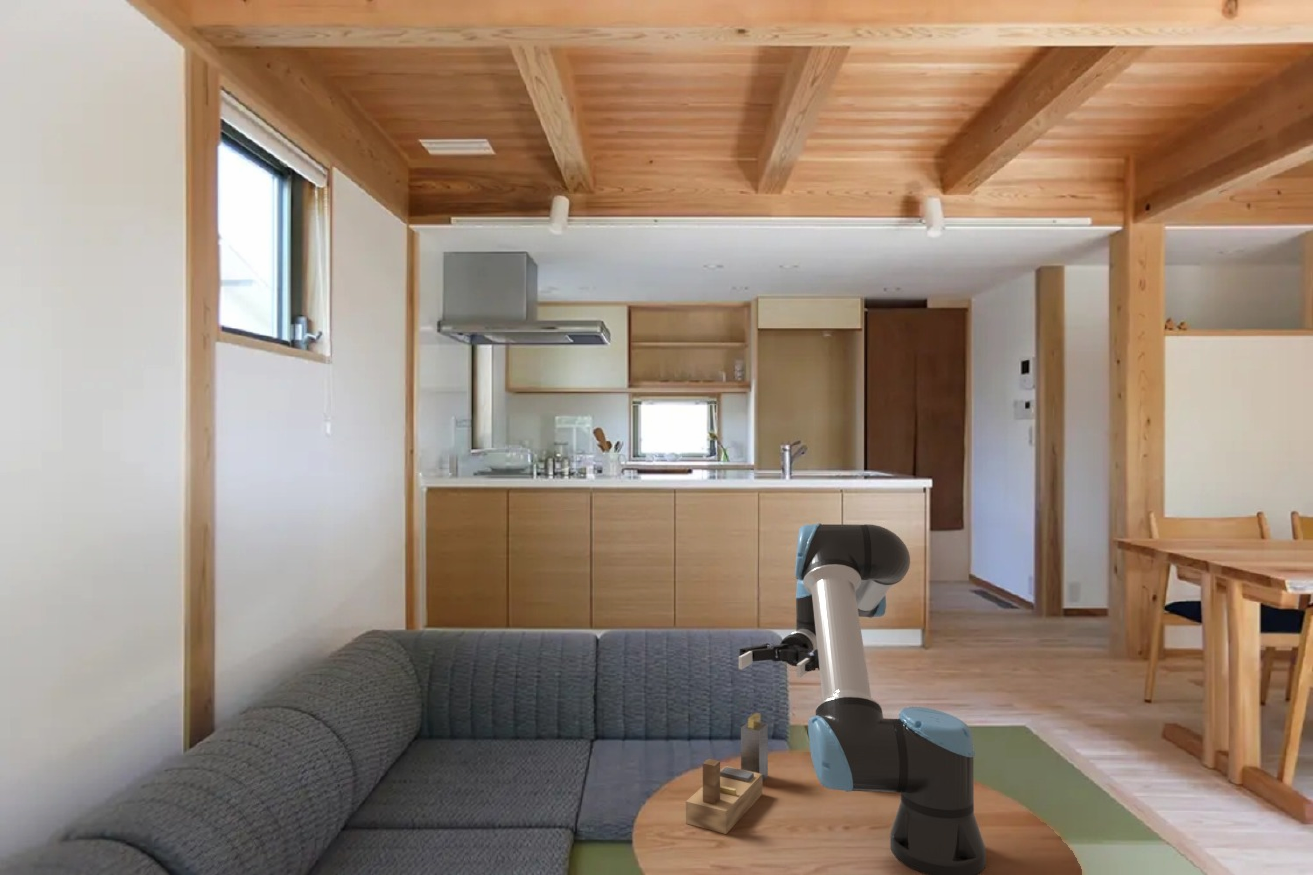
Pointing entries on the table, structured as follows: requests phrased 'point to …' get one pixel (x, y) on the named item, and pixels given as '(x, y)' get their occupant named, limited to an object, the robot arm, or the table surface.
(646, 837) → the table surface
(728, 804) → the body
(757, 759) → the grey metal pillar
